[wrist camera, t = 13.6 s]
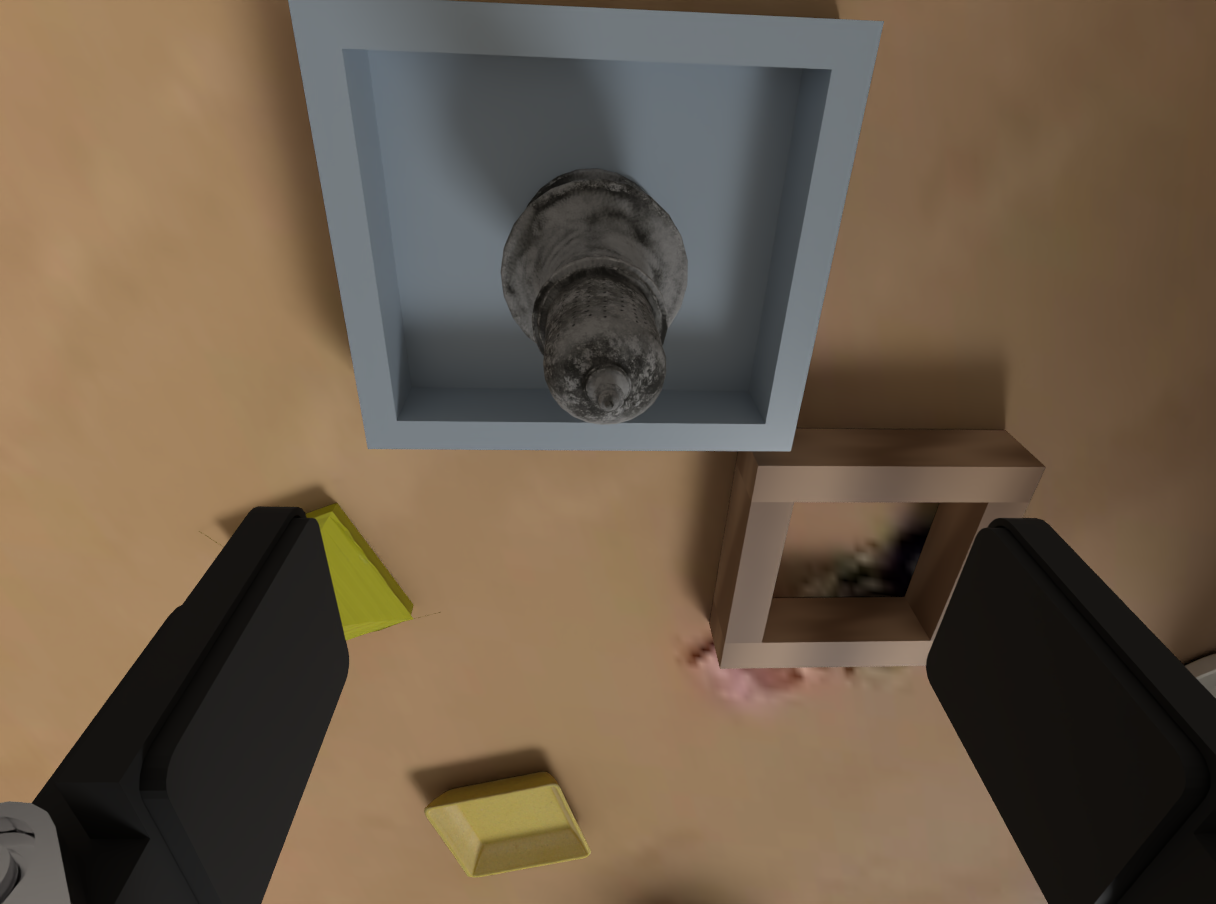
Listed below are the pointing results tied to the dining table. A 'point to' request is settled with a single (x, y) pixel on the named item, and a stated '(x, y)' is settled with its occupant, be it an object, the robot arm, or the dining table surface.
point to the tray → (557, 144)
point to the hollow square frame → (858, 472)
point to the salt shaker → (596, 291)
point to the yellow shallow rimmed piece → (508, 825)
